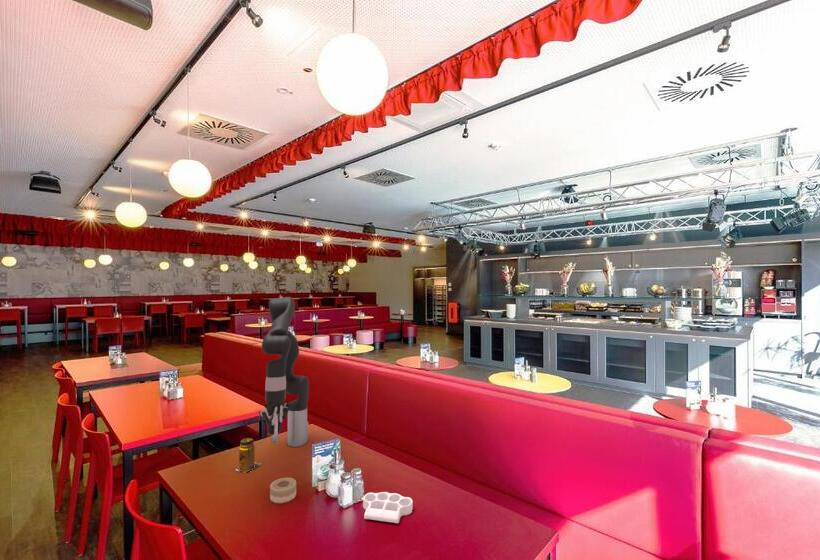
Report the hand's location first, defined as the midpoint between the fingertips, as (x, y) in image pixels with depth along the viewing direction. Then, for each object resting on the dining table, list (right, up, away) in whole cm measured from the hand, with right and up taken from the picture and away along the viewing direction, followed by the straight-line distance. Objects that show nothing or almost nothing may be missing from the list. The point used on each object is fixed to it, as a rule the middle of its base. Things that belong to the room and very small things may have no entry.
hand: (274, 433), depth 143 cm
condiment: (-18, -22, +18) cm, 34 cm away
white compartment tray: (+44, -23, -12) cm, 51 cm away
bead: (+5, -22, -4) cm, 23 cm away
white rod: (0, -4, 0) cm, 4 cm away
